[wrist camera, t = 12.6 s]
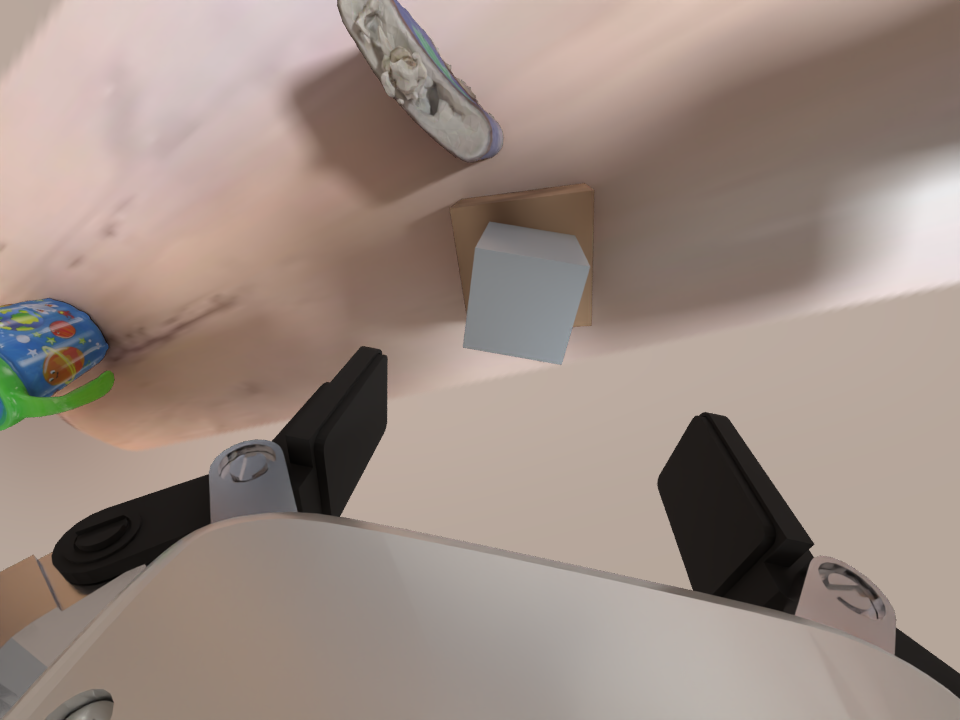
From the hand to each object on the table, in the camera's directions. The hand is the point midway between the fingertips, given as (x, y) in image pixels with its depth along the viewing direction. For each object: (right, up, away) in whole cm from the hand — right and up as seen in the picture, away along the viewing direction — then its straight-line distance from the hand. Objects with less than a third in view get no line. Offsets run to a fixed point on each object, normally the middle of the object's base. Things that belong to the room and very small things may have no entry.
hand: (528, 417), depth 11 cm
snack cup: (-44, +5, +28) cm, 52 cm away
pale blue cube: (+1, +8, +14) cm, 16 cm away
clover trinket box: (-3, +19, +13) cm, 24 cm away
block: (+2, +10, +18) cm, 21 cm away
